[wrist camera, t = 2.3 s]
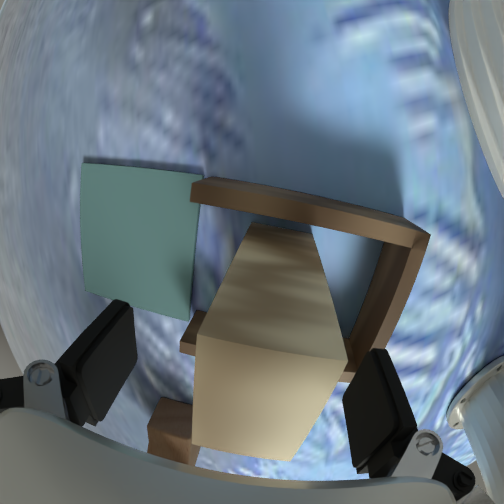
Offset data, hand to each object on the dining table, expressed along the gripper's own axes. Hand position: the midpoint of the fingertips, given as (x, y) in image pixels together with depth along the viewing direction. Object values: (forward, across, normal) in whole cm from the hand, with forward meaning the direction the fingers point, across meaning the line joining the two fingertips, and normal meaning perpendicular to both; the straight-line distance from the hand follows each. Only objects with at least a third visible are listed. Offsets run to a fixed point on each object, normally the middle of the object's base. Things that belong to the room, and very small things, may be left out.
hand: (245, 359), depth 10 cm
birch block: (+10, -1, 0) cm, 10 cm away
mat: (+10, +10, 0) cm, 14 cm away
